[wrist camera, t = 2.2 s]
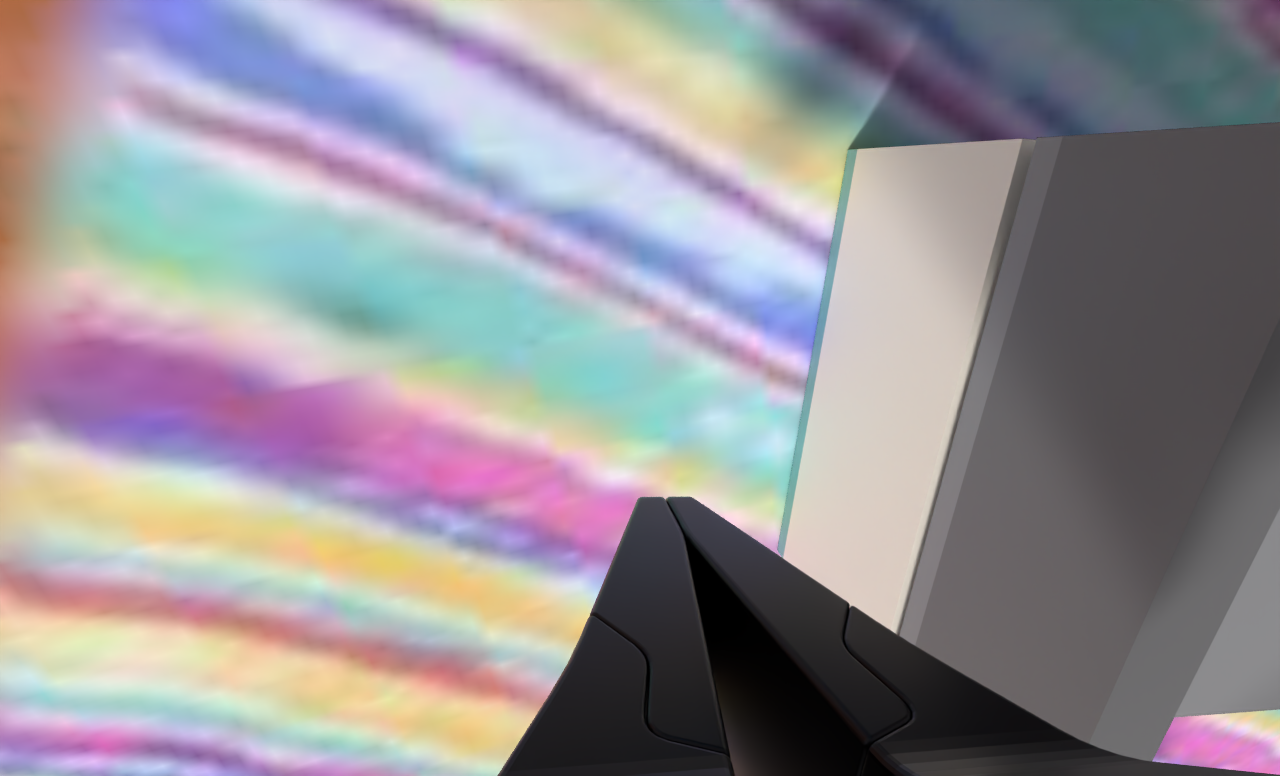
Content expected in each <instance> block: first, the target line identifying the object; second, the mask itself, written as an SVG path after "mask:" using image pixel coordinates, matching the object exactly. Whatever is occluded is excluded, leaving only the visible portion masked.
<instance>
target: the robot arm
mask: <svg viewBox="0 0 1280 776" xmlns="http://www.w3.org/2000/svg"><path fill="white" fill-rule="evenodd" d="M849 607H850V604H849V603H848V602H847V601H846V600H844V599H843V598H841V597H840V596H838V595H837V594H835V593H834V592H832V591H831V590H829V589H828V588H826V587H825V586H823V585H822V584H820V583H819V582H817V581H816V580H814V579H813V578H811V577H810V576H808V575H807V574H806V573H804V572H803V571H801V570H800V569H798V568H797V567H795V566H794V565H792V564H791V563H789V562H788V561H786V560H785V559H783V558H782V557H780V556H779V555H777V554H776V553H774V552H773V551H771V550H770V549H768V548H767V547H765V546H764V545H762V544H761V543H759V542H758V541H756V540H755V539H753V538H752V537H750V536H749V535H747V534H746V533H744V532H743V531H741V530H740V529H739V528H737V527H736V526H734V525H733V524H731V523H730V522H728V521H727V520H725V519H724V518H722V517H721V516H719V515H718V514H716V513H715V512H713V511H712V510H710V509H709V508H707V507H706V506H704V505H703V504H701V503H700V502H698V501H697V500H695V499H694V498H692V497H668V498H667V499H666V500H665V499H664V498H663V497H640V498H639V499H638V500H637V502H636V505H635V507H634V510H633V512H632V514H631V517H630V519H629V522H628V524H627V526H626V529H625V531H624V534H623V536H622V539H621V541H620V543H619V546H618V548H617V551H616V553H615V556H614V558H613V560H612V563H611V565H610V568H609V570H608V572H607V575H606V577H605V580H604V582H603V585H602V587H601V589H600V592H599V594H598V597H597V599H596V601H595V604H594V606H593V609H592V611H591V614H590V617H589V618H588V620H587V622H586V625H585V627H584V630H583V632H582V634H581V637H580V639H579V641H578V643H577V645H576V647H575V649H574V651H573V654H572V656H571V658H570V660H569V662H568V664H567V666H566V667H565V669H564V671H563V672H562V674H561V676H560V678H559V679H558V681H557V683H556V684H555V686H554V688H553V690H552V691H551V693H550V695H549V696H548V698H547V699H546V701H545V702H544V704H543V705H542V707H541V709H540V710H539V712H538V713H537V715H536V716H535V718H534V720H533V721H532V723H531V724H530V726H529V727H528V729H527V731H526V732H525V734H524V735H523V737H522V738H521V740H520V741H519V743H518V745H517V746H516V748H515V749H514V751H513V752H512V754H511V756H510V757H509V759H508V760H507V762H506V763H505V765H504V767H503V768H502V770H501V771H500V773H499V774H498V776H1280V775H1275V774H1265V773H1255V772H1246V771H1236V770H1227V769H1217V768H1208V767H1198V766H1188V765H1179V764H1169V763H1160V762H1152V761H1145V760H1140V759H1136V758H1131V757H1127V756H1123V755H1119V754H1116V753H1113V752H1110V751H1107V750H1104V749H1101V748H1098V747H1096V746H1094V745H1091V744H1089V743H1087V742H1084V741H1082V740H1080V739H1077V738H1075V737H1074V736H1072V735H1070V734H1068V733H1066V732H1064V731H1062V730H1060V729H1059V728H1057V727H1055V726H1053V725H1051V724H1050V723H1048V722H1046V721H1045V720H1043V719H1041V718H1039V717H1038V716H1036V715H1034V714H1032V713H1031V712H1029V711H1027V710H1025V709H1024V708H1022V707H1020V706H1018V705H1017V704H1015V703H1013V702H1011V701H1010V700H1008V699H1006V698H1004V697H1003V696H1001V695H999V694H997V693H996V692H994V691H992V690H990V689H989V688H987V687H985V686H983V685H982V684H980V683H978V682H976V681H975V680H973V679H971V678H970V677H968V676H966V675H964V674H963V673H961V672H959V671H957V670H956V669H954V668H952V667H950V666H949V665H947V664H945V663H944V662H942V661H940V660H939V659H937V658H935V657H933V656H932V655H930V654H928V653H927V652H925V651H923V650H922V649H920V648H918V647H917V646H915V645H913V644H912V643H910V642H908V641H907V640H905V639H904V638H902V637H901V636H899V635H897V634H896V633H894V632H893V631H891V630H890V629H888V628H887V627H885V626H883V625H882V624H880V623H879V622H877V621H876V620H874V619H873V618H871V617H870V616H868V615H867V614H865V613H864V612H862V611H861V610H859V609H858V608H856V607H855V606H851V607H850V608H849Z"/></svg>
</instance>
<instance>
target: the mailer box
mask: <svg viewBox="0 0 1280 776" xmlns="http://www.w3.org/2000/svg"><path fill="white" fill-rule="evenodd" d="M1035 143H1036V140H1032V139H1009V140H993V141H977V142H961V143H946V144H930V145H914V146H898V147H883V148H867V149H851V150H848V153H847V159H846V164H845V170H844V176H843V181H842V187H841V193H840V198H839V204H838V210H837V215H836V221H835V227H834V232H833V238H832V243H831V249H830V255H829V260H828V266H827V272H826V277H825V283H824V289H823V294H822V300H821V306H820V311H819V317H818V323H817V328H816V334H815V340H814V345H813V351H812V356H811V362H810V368H809V373H808V379H807V385H806V390H805V396H804V402H803V407H802V413H801V419H800V424H799V430H798V436H797V441H796V447H795V453H794V458H793V464H792V470H791V475H790V481H789V486H788V492H787V498H786V503H785V509H784V515H783V520H782V526H781V532H780V537H779V543H778V549H777V550H778V552H779V553H780V555H781V557H782V558H783V559H785V560H786V561H788V562H789V563H791V564H792V565H794V566H795V567H797V568H798V569H800V570H801V571H803V572H804V573H806V574H807V575H808V576H810V577H811V578H813V579H814V580H816V581H817V582H819V583H820V584H822V585H823V586H825V587H826V588H828V589H829V590H831V591H832V592H834V593H835V594H837V595H838V596H840V597H841V598H843V599H844V600H846V601H847V602H848V603H849V604H850V607H851V606H855V607H856V608H858V609H859V610H861V611H862V612H864V613H865V614H867V615H868V616H870V617H871V618H873V619H874V620H876V621H877V622H879V623H880V624H882V625H883V626H885V627H887V628H888V629H890V630H891V631H893V632H894V633H896V634H897V635H900V631H901V628H902V624H903V621H904V617H905V613H906V610H907V606H908V602H909V599H910V595H911V592H912V588H913V584H914V581H915V577H916V574H917V570H918V566H919V563H920V559H921V555H922V552H923V548H924V545H925V541H926V537H927V534H928V530H929V527H930V523H931V519H932V516H933V512H934V508H935V505H936V501H937V498H938V494H939V490H940V487H941V483H942V479H943V476H944V472H945V469H946V465H947V461H948V458H949V454H950V451H951V447H952V443H953V440H954V436H955V432H956V429H957V425H958V422H959V418H960V414H961V411H962V407H963V403H964V400H965V396H966V393H967V389H968V385H969V382H970V378H971V375H972V371H973V367H974V364H975V360H976V356H977V353H978V349H979V346H980V342H981V338H982V335H983V331H984V327H985V324H986V320H987V317H988V313H989V309H990V306H991V302H992V299H993V295H994V291H995V288H996V284H997V280H998V277H999V273H1000V270H1001V266H1002V262H1003V259H1004V255H1005V252H1006V248H1007V244H1008V241H1009V237H1010V233H1011V230H1012V226H1013V223H1014V219H1015V215H1016V212H1017V208H1018V204H1019V201H1020V197H1021V194H1022V190H1023V186H1024V183H1025V179H1026V176H1027V172H1028V168H1029V165H1030V161H1031V157H1032V154H1033V150H1034V147H1035ZM850 607H849V608H850Z"/></svg>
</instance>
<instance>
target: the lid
mask: <svg viewBox="0 0 1280 776" xmlns="http://www.w3.org/2000/svg"><path fill="white" fill-rule="evenodd" d="M899 636H901V637H902V638H904V639H905V640H907V641H908V642H910V643H912V644H913V645H915V646H917V647H918V648H920V649H922V650H923V651H925V652H927V653H928V654H930V655H932V656H933V657H935V658H937V659H939V660H940V661H942V662H944V663H945V664H947V665H949V666H950V667H952V668H954V669H956V670H957V671H959V672H961V673H963V674H964V675H966V676H968V677H970V678H971V679H973V680H975V681H976V682H978V683H980V684H982V685H983V686H985V687H987V688H989V689H990V690H992V691H994V692H996V693H997V694H999V695H1001V696H1003V697H1004V698H1006V699H1008V700H1010V701H1011V702H1013V703H1015V704H1017V705H1018V706H1020V707H1022V708H1024V709H1025V710H1027V711H1029V712H1031V713H1032V714H1034V715H1036V716H1038V717H1039V718H1041V719H1043V720H1045V721H1046V722H1048V723H1050V724H1051V725H1053V726H1055V727H1057V728H1059V729H1060V730H1062V731H1064V732H1066V733H1068V734H1070V735H1072V736H1074V737H1075V738H1077V739H1080V740H1082V741H1084V742H1087V743H1089V744H1091V745H1094V746H1096V747H1098V748H1101V749H1104V750H1107V751H1110V752H1113V753H1116V754H1119V755H1123V756H1127V757H1131V758H1136V759H1140V760H1145V761H1152V760H1153V758H1154V756H1155V754H1156V752H1157V750H1158V748H1159V746H1160V744H1161V742H1162V740H1163V738H1164V736H1165V734H1166V732H1167V731H1168V729H1169V727H1170V725H1171V723H1172V721H1173V719H1174V717H1185V716H1198V715H1211V714H1225V713H1238V712H1251V711H1264V710H1277V709H1280V122H1277V123H1261V124H1245V125H1229V126H1214V127H1198V128H1182V129H1166V130H1151V131H1135V132H1119V133H1103V134H1088V135H1072V136H1056V137H1040V138H1037V139H1036V143H1035V147H1034V150H1033V154H1032V157H1031V161H1030V165H1029V168H1028V172H1027V176H1026V179H1025V183H1024V186H1023V190H1022V194H1021V197H1020V201H1019V204H1018V208H1017V212H1016V215H1015V219H1014V223H1013V226H1012V230H1011V233H1010V237H1009V241H1008V244H1007V248H1006V252H1005V255H1004V259H1003V262H1002V266H1001V270H1000V273H999V277H998V280H997V284H996V288H995V291H994V295H993V299H992V302H991V306H990V309H989V313H988V317H987V320H986V324H985V327H984V331H983V335H982V338H981V342H980V346H979V349H978V353H977V356H976V360H975V364H974V367H973V371H972V375H971V378H970V382H969V385H968V389H967V393H966V396H965V400H964V403H963V407H962V411H961V414H960V418H959V422H958V425H957V429H956V432H955V436H954V440H953V443H952V447H951V451H950V454H949V458H948V461H947V465H946V469H945V472H944V476H943V479H942V483H941V487H940V490H939V494H938V498H937V501H936V505H935V508H934V512H933V516H932V519H931V523H930V527H929V530H928V534H927V537H926V541H925V545H924V548H923V552H922V555H921V559H920V563H919V566H918V570H917V574H916V577H915V581H914V584H913V588H912V592H911V595H910V599H909V602H908V606H907V610H906V613H905V617H904V621H903V624H902V628H901V631H900V635H899Z"/></svg>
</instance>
